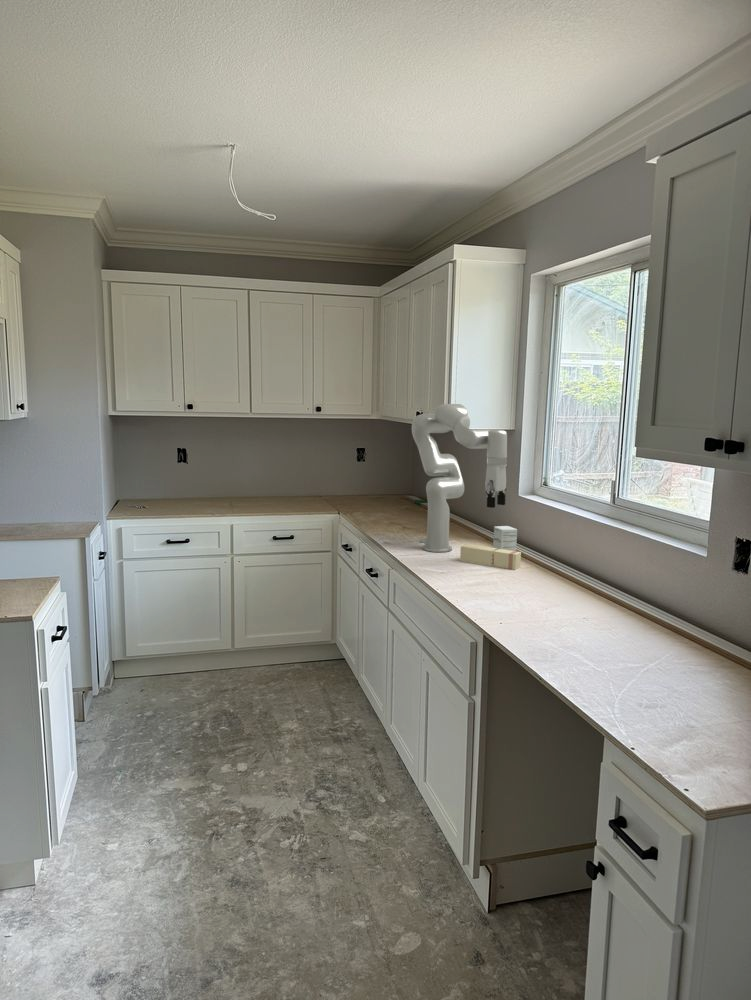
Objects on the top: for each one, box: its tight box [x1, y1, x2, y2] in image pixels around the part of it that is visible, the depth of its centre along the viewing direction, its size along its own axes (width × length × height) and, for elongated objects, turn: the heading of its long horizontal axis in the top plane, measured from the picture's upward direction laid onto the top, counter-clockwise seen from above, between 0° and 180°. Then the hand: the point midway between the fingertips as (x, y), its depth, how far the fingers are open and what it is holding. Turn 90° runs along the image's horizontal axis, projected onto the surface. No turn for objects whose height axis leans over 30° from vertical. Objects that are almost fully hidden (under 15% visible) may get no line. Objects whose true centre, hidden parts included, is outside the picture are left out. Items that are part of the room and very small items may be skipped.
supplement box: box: [492, 525, 518, 551], centre depth 284 cm, size 7×7×13 cm
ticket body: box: [459, 543, 498, 567], centre depth 271 cm, size 14×6×6 cm, turn 57°
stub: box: [492, 549, 522, 571], centre depth 264 cm, size 9×6×6 cm, turn 57°
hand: (496, 506), depth 263 cm, fingers open, 9 cm apart
